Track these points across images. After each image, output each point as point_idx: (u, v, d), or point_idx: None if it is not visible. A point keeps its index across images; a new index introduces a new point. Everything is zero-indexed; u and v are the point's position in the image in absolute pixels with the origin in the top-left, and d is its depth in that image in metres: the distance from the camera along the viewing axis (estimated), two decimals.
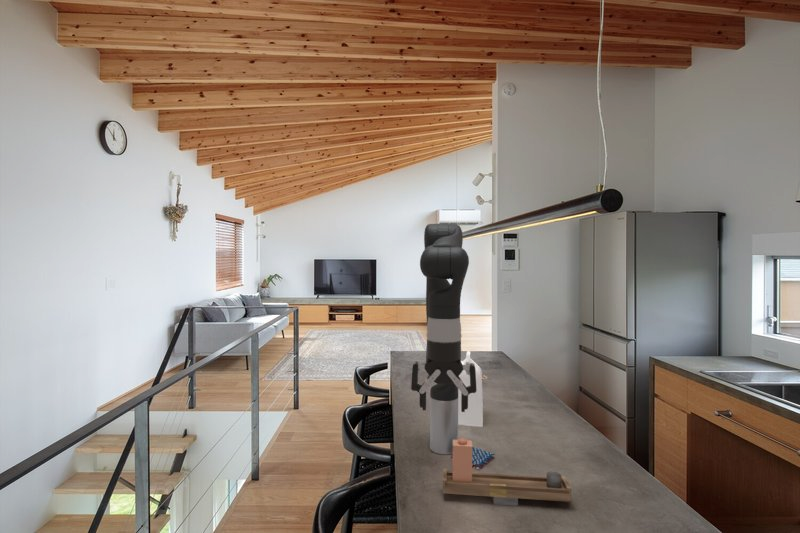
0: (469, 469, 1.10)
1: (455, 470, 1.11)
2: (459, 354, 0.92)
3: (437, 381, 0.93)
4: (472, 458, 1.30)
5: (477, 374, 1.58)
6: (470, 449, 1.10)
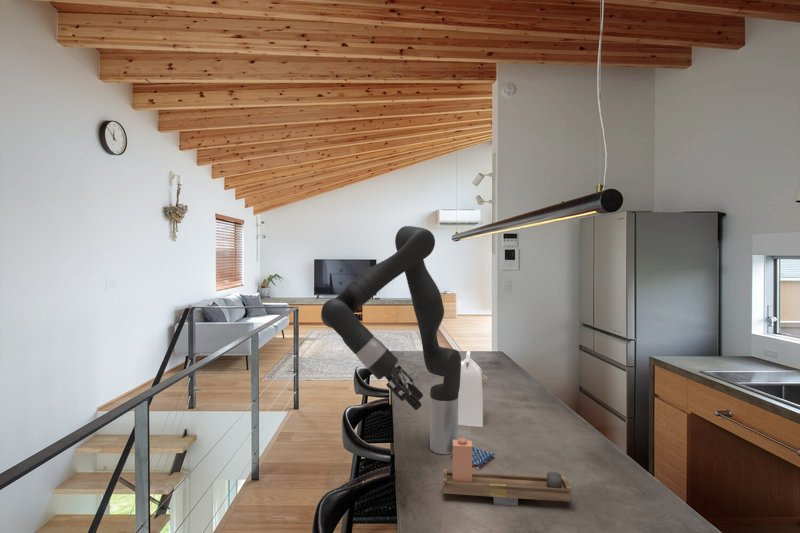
0: (469, 469, 1.10)
1: (455, 470, 1.11)
2: (378, 374, 1.11)
3: None
4: (472, 458, 1.30)
5: (477, 374, 1.58)
6: (470, 449, 1.10)
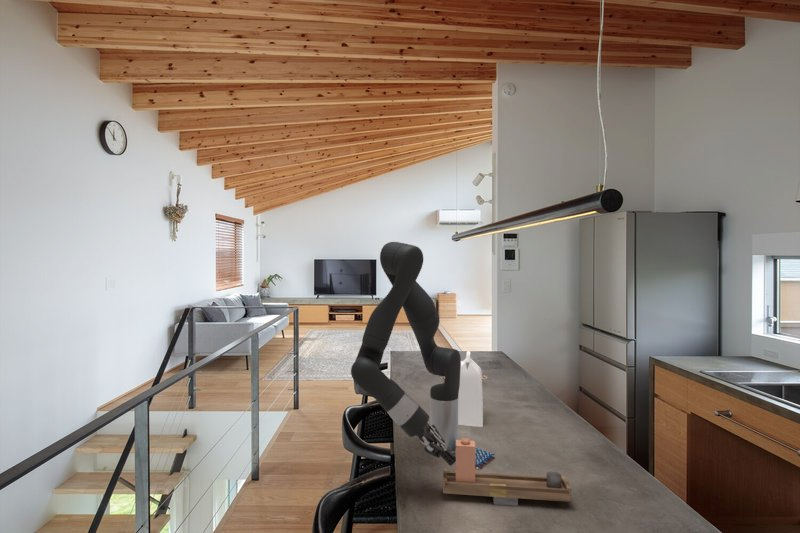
0: (472, 469, 1.10)
1: (458, 470, 1.10)
2: (410, 432, 1.10)
3: None
4: None
5: (477, 374, 1.58)
6: (473, 449, 1.10)
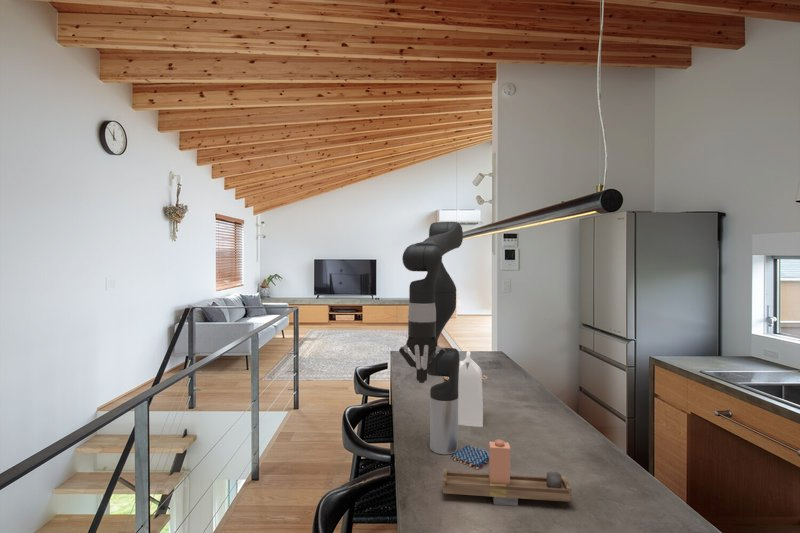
0: (507, 471, 1.09)
1: (492, 472, 1.09)
2: (434, 332, 1.13)
3: None
4: (472, 458, 1.30)
5: (477, 374, 1.58)
6: (508, 451, 1.09)
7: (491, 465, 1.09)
